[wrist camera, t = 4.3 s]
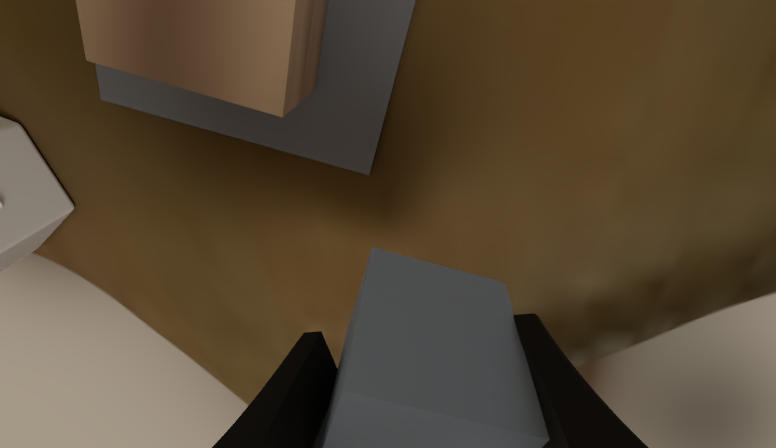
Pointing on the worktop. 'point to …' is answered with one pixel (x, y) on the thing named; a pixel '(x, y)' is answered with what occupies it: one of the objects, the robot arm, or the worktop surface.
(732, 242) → the worktop surface
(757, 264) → the worktop surface
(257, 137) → the mat
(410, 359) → the blue cube
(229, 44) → the slab upper
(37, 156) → the jar
